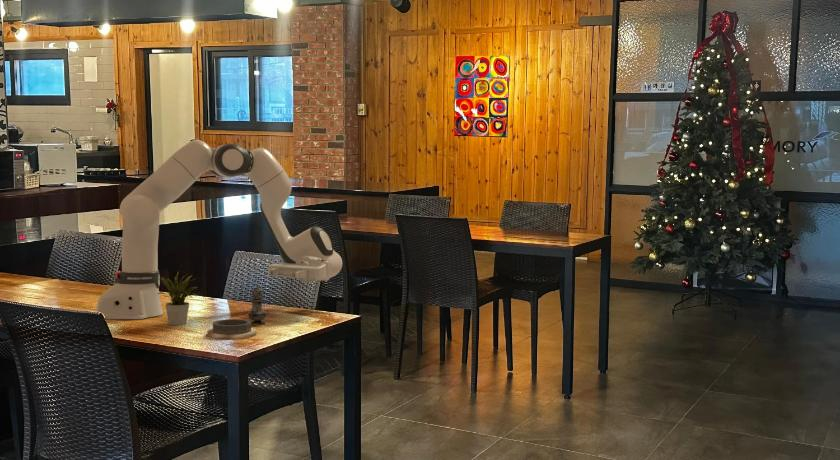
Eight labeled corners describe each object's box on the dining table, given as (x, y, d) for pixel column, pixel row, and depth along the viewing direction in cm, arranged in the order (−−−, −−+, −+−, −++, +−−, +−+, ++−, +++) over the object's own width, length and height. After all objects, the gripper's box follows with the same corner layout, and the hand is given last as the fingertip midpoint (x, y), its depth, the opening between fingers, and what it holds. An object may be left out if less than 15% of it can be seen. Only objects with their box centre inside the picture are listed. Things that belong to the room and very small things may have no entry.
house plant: (152, 329, 275) (152, 274, 274) (146, 321, 288) (145, 269, 287) (201, 326, 281) (201, 273, 280) (193, 319, 294) (193, 267, 292)
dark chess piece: (262, 326, 284) (262, 286, 283) (244, 325, 285) (244, 286, 284) (269, 322, 290) (269, 284, 289) (251, 321, 291) (251, 283, 290)
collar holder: (207, 339, 262) (207, 327, 261) (207, 330, 275) (207, 318, 275) (257, 338, 265) (257, 326, 264) (255, 329, 278) (255, 317, 278)
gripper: (282, 257, 314) (256, 262, 302) (333, 261, 304) (308, 265, 292) (283, 276, 314) (256, 281, 302) (333, 280, 304) (308, 285, 292)
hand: (282, 273), depth 297 cm, fingers open, 8 cm apart
